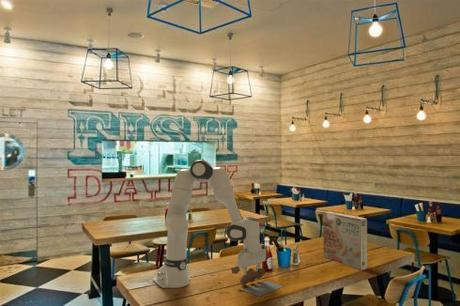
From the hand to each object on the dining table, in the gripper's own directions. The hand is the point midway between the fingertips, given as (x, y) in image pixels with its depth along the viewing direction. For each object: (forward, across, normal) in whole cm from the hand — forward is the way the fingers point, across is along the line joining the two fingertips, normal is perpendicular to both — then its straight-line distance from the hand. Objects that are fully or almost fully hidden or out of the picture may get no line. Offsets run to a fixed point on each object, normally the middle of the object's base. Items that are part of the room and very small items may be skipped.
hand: (251, 272), depth 197 cm
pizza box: (+7, +69, -18) cm, 71 cm away
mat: (+7, 0, -8) cm, 10 cm away
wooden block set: (+4, -1, +4) cm, 6 cm away
